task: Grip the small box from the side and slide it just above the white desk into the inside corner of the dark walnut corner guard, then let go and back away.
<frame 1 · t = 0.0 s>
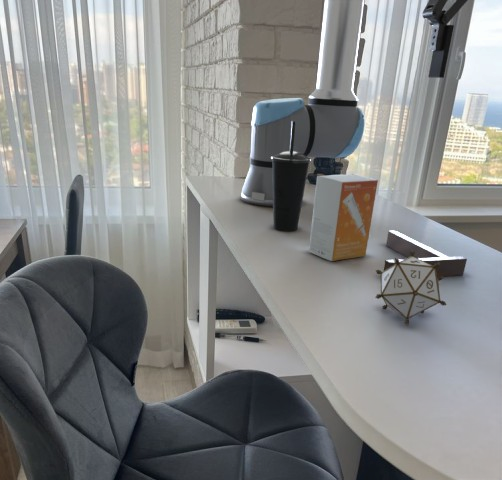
hand: (474, 80, 76), 28 cm above the table, tool pointing down, fingers open, 13 cm apart
game die: (403, 317, 65), on the table
corner guard: (396, 267, 83), on the table
small box: (337, 255, 88), on the table
drinking cup: (285, 229, 103), on the table
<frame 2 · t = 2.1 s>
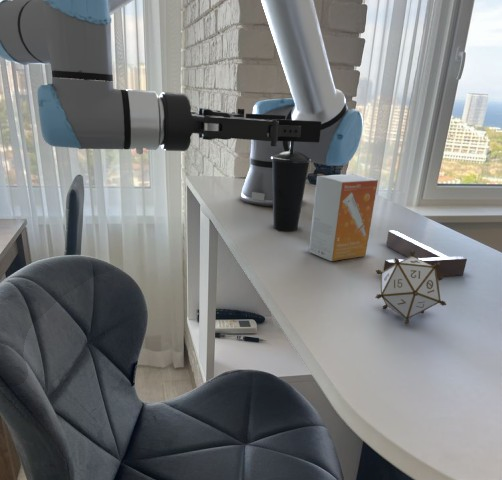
hand: (300, 127, 76), 20 cm above the table, tool horizontal, fingers open, 13 cm apart
nothing on the table moved.
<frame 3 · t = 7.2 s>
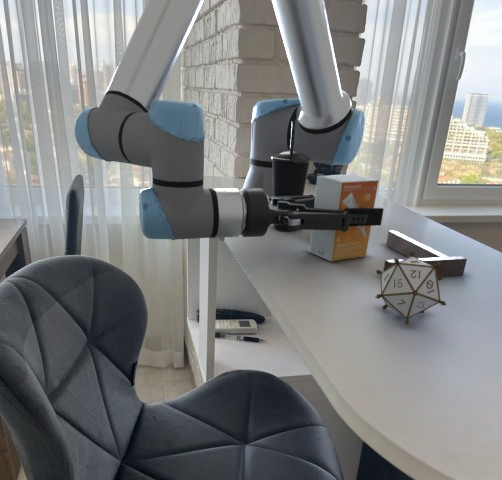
hand: (368, 210, 86), 8 cm above the table, tool horizontal, fingers closed on small box, 8 cm apart
small box: (337, 255, 88), on the table, touching gripper
everything else where it was.
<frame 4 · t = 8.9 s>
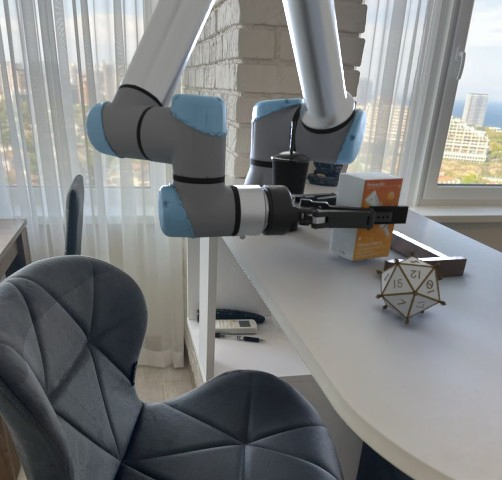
hand: (392, 208, 84), 8 cm above the table, tool horizontal, fingers closed on small box, 7 cm apart
small box: (358, 255, 86), point 1 cm above the table, touching gripper
everything else where it was.
when the fingers open (8 cm above the table, at t = 11.3 s): small box stays where it is, on the table.
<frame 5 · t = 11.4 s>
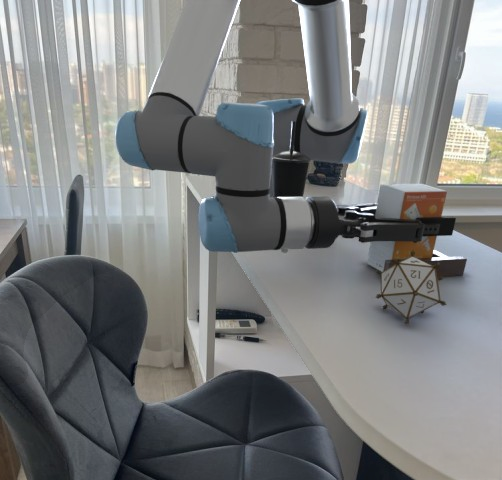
hand: (436, 219, 81), 8 cm above the table, tool horizontal, fingers open, 7 cm apart
small box: (397, 269, 83), on the table
everything else where it was.
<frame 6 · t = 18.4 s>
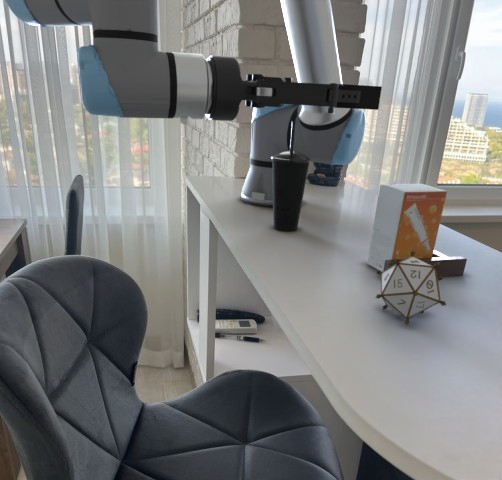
hand: (354, 96, 71), 25 cm above the table, tool horizontal, fingers open, 13 cm apart
nothing on the table moved.
at the end: small box 0.9 cm from the target spot, on the table; small box tilted 0°; the gripper is holding nothing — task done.
